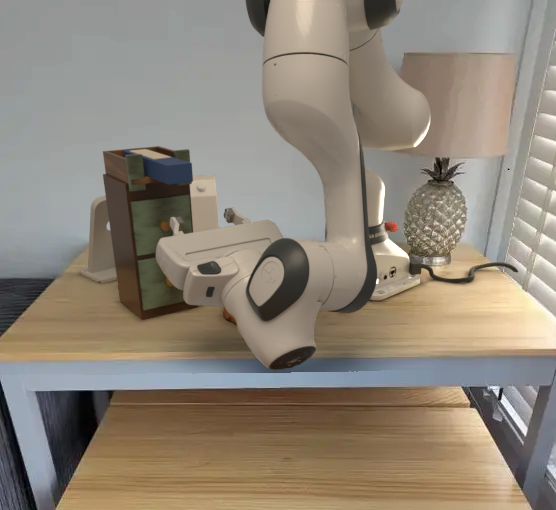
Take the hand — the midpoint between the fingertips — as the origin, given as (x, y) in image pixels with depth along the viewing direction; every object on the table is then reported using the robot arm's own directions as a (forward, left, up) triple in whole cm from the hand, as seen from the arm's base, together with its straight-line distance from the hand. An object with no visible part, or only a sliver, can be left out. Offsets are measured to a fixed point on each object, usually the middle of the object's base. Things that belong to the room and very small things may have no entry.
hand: (201, 215), depth 96 cm
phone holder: (-2, -47, -22) cm, 52 cm away
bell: (-13, -7, -22) cm, 27 cm away
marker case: (0, -16, +4) cm, 17 cm away
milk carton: (-23, -47, -22) cm, 57 cm away
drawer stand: (0, -21, -22) cm, 31 cm away
